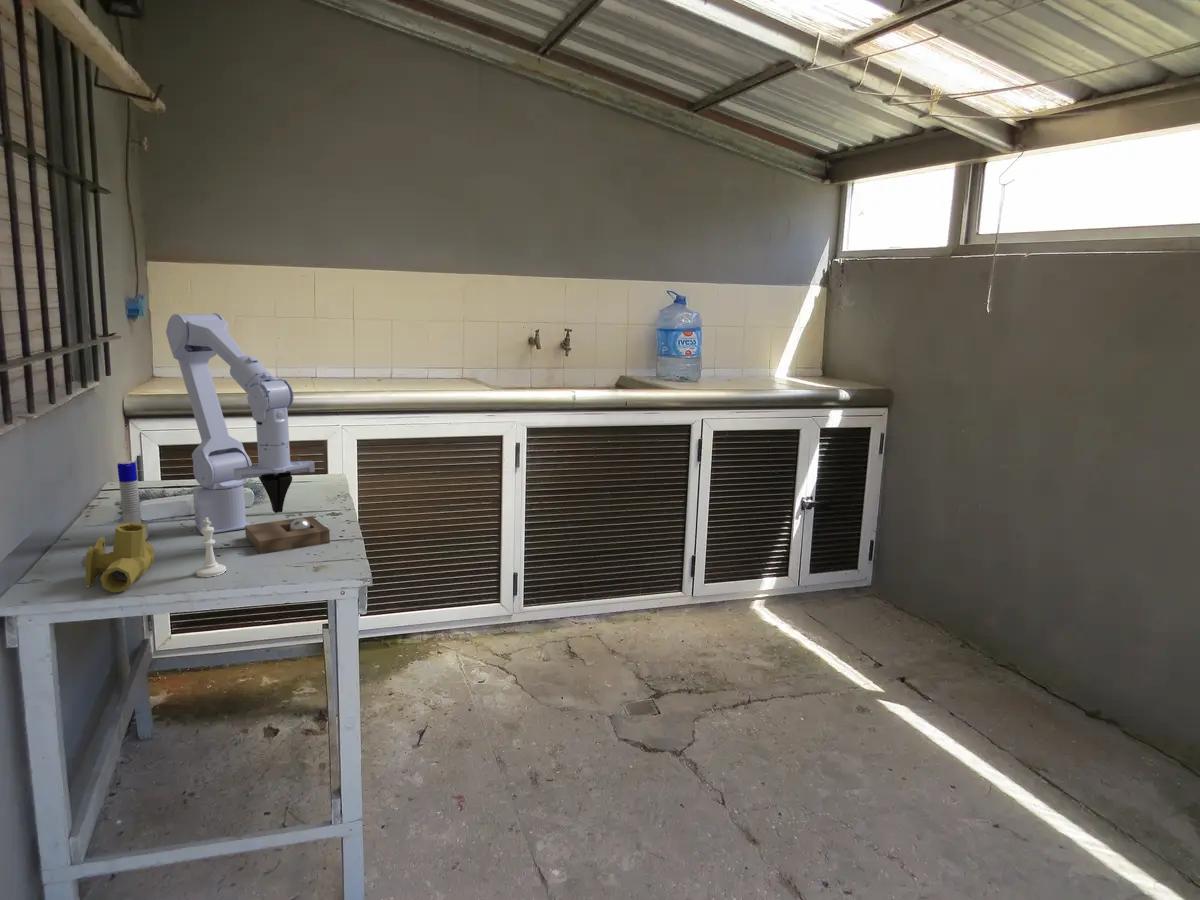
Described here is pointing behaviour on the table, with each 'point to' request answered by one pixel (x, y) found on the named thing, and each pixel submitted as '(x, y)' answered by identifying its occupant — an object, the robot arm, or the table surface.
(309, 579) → the table surface
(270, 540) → the pocket board
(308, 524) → the steel ball
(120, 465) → the bolt
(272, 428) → the robot arm
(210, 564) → the chess piece
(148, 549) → the ball valve
